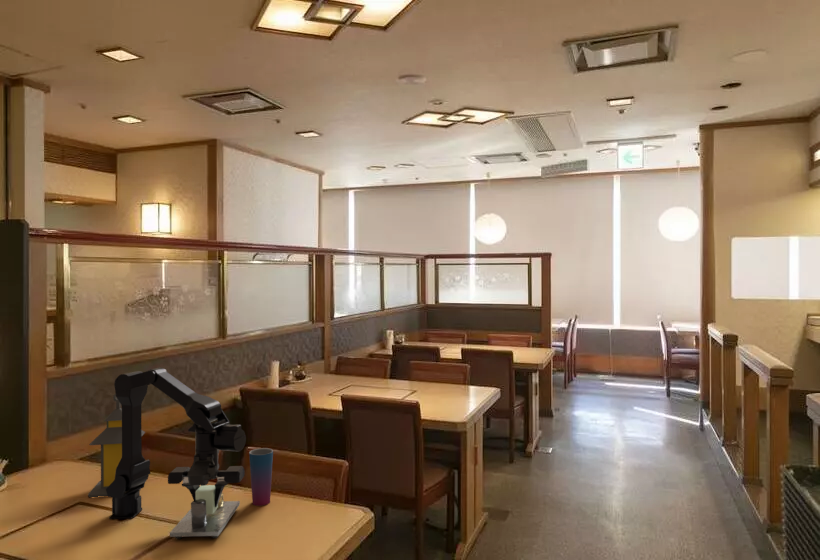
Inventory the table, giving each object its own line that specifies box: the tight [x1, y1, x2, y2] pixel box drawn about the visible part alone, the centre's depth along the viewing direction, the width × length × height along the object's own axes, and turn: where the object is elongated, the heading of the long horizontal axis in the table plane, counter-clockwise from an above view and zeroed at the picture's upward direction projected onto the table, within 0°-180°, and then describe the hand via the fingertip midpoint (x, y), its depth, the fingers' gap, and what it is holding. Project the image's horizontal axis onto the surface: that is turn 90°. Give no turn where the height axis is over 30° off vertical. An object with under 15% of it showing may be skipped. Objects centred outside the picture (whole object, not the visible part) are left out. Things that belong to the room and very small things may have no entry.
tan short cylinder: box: [218, 492, 224, 508], centre depth 159 cm, size 4×4×3 cm
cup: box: [248, 447, 274, 507], centre depth 167 cm, size 7×7×15 cm
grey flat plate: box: [169, 500, 241, 540], centre depth 152 cm, size 12×20×2 cm, turn 2°
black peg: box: [190, 499, 207, 528], centre depth 146 cm, size 4×4×6 cm
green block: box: [196, 484, 218, 514], centre depth 152 cm, size 4×4×6 cm
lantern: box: [87, 393, 146, 497], centre depth 180 cm, size 14×14×30 cm
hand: (206, 506), depth 152 cm, fingers closed on green block, 4 cm apart
